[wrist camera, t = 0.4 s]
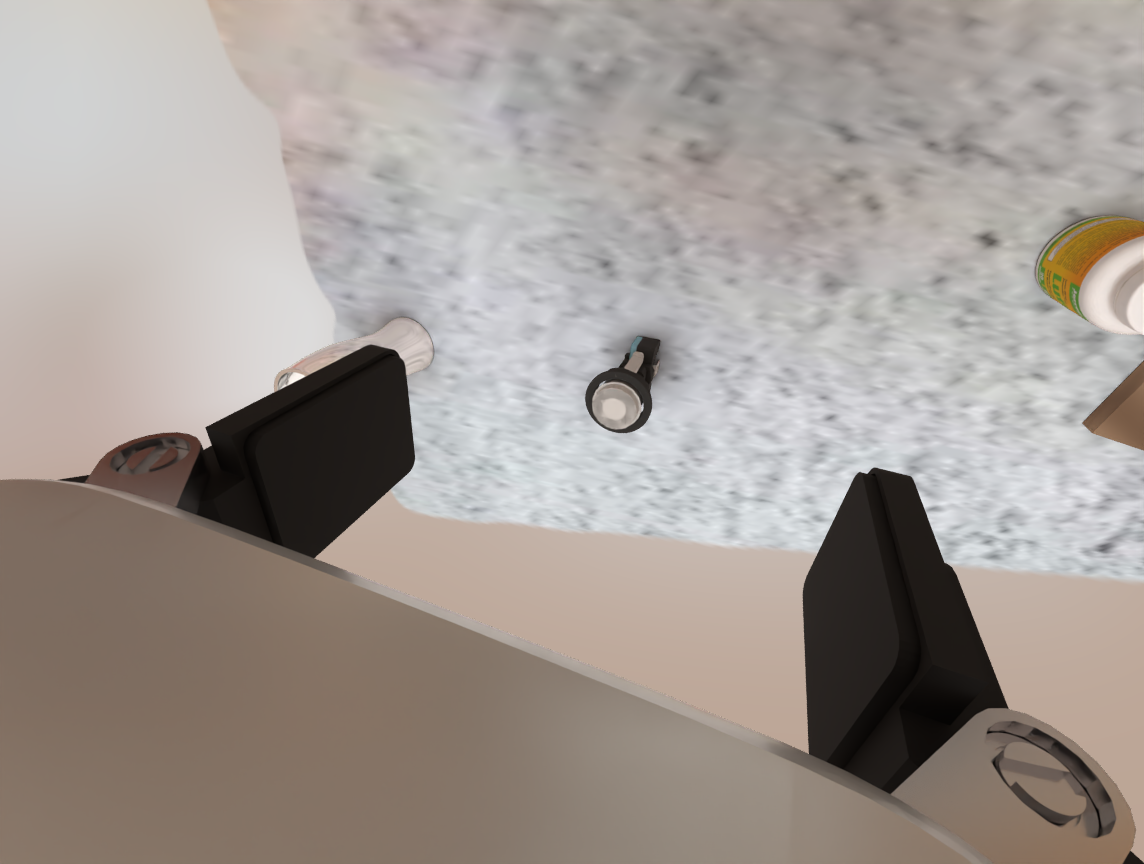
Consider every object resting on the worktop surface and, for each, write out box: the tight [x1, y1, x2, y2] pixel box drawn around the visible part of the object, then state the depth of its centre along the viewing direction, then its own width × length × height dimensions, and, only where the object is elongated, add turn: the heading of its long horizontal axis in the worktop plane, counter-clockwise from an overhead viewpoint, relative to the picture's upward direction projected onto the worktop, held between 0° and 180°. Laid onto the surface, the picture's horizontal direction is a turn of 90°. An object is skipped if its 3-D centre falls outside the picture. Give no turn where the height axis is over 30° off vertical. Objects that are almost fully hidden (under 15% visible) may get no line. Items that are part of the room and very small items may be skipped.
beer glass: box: [274, 317, 434, 392], centre depth 49 cm, size 7×7×15 cm
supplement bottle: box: [1036, 216, 1144, 335], centre depth 29 cm, size 5×5×10 cm
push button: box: [585, 336, 660, 433], centre depth 43 cm, size 7×5×10 cm
